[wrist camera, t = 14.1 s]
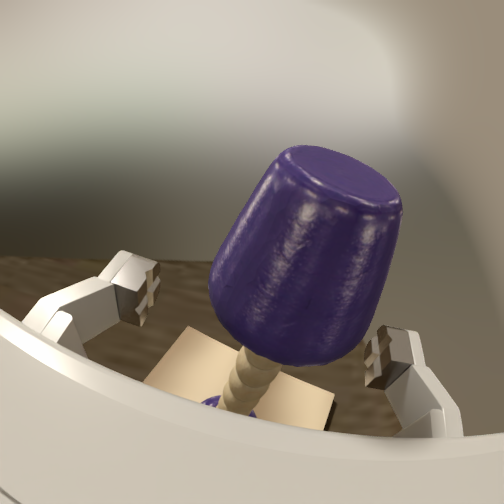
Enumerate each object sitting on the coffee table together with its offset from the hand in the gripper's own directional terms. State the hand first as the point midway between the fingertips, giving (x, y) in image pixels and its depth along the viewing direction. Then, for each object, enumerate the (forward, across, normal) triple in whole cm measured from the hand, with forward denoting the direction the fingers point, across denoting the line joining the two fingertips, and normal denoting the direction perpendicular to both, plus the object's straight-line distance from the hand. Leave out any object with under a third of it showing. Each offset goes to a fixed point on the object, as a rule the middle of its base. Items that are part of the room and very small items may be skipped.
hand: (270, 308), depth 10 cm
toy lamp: (-1, 0, +11) cm, 11 cm away
